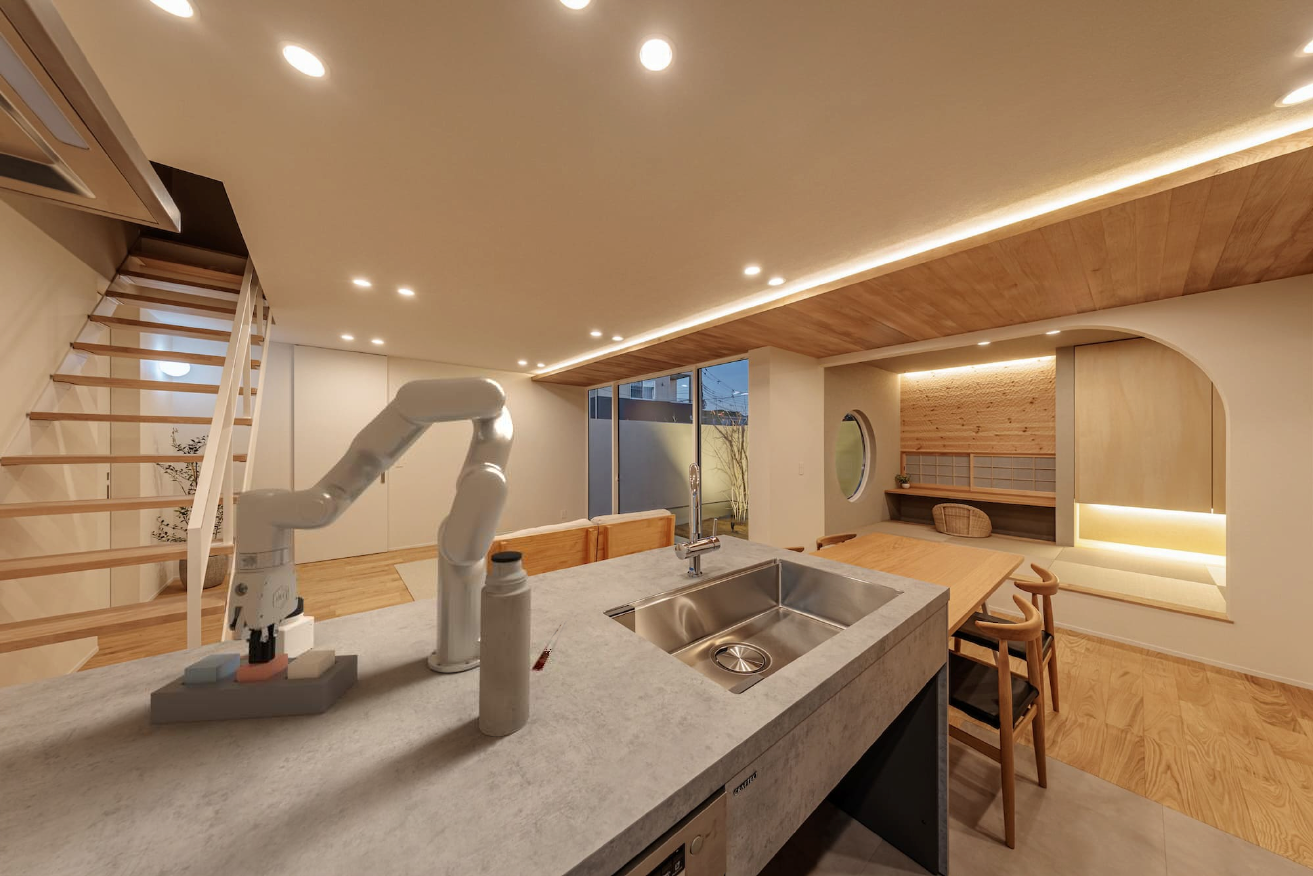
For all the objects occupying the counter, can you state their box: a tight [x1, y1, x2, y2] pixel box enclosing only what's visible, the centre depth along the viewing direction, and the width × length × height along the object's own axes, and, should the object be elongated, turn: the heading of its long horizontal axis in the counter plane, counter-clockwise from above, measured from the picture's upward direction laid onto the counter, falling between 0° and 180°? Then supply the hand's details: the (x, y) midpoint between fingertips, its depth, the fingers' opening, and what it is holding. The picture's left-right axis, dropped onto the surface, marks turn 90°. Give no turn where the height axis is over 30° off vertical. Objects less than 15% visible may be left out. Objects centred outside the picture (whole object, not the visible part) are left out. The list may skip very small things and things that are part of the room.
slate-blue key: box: [184, 652, 241, 685], centre depth 75 cm, size 5×5×4 cm
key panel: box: [149, 654, 359, 725], centre depth 76 cm, size 26×10×5 cm, turn 97°
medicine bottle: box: [274, 596, 315, 658], centre depth 92 cm, size 7×7×12 cm
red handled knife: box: [532, 649, 551, 670], centre depth 99 cm, size 2×24×1 cm, turn 0°
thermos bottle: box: [478, 550, 532, 737], centre depth 71 cm, size 8×8×28 cm
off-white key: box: [288, 649, 336, 679], centre depth 77 cm, size 5×5×4 cm
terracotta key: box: [237, 654, 288, 682], centre depth 76 cm, size 5×5×4 cm
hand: (261, 661), depth 76 cm, fingers closed
